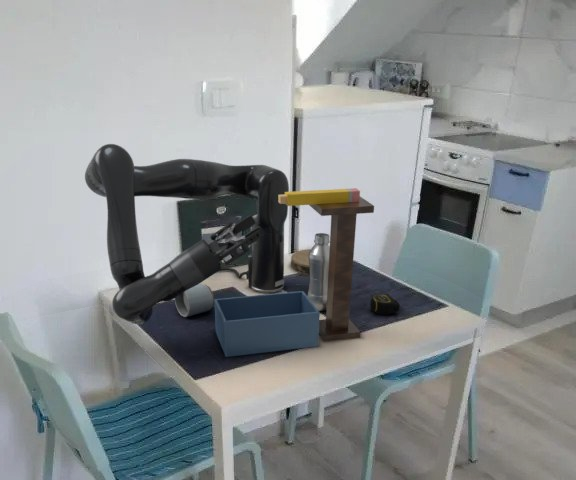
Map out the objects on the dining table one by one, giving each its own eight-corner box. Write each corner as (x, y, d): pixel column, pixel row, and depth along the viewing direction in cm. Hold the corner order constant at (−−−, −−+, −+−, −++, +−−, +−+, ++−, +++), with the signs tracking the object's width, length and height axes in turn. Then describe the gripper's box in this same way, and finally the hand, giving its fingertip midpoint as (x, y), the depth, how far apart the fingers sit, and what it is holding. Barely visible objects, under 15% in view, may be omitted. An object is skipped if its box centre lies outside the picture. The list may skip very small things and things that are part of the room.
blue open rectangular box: (225, 357, 141) (224, 322, 136) (215, 332, 151) (214, 299, 147) (318, 346, 146) (319, 312, 141) (302, 323, 157) (303, 290, 152)
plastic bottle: (324, 315, 161) (327, 240, 151) (301, 309, 164) (304, 236, 154) (335, 307, 166) (340, 234, 155) (313, 301, 169) (316, 229, 158)
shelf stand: (315, 343, 147) (321, 208, 131) (303, 326, 155) (307, 197, 139) (362, 338, 150) (374, 205, 134) (348, 321, 158) (357, 194, 142)
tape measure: (400, 315, 162) (401, 301, 160) (376, 317, 160) (377, 304, 158) (388, 305, 168) (390, 292, 166) (365, 307, 166) (366, 294, 164)
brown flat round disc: (348, 262, 196) (348, 253, 195) (333, 278, 184) (333, 269, 182) (301, 255, 201) (301, 246, 200) (283, 271, 188) (283, 261, 187)
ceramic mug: (216, 313, 161) (215, 285, 157) (190, 321, 156) (187, 292, 153) (195, 301, 168) (193, 274, 164) (168, 308, 163) (166, 281, 160)
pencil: (280, 206, 132) (280, 195, 131) (277, 203, 134) (277, 192, 133) (359, 201, 136) (360, 190, 135) (355, 199, 138) (356, 188, 137)
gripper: (190, 262, 127) (256, 218, 126) (181, 241, 138) (242, 201, 138) (210, 290, 131) (274, 248, 130) (200, 267, 143) (258, 228, 142)
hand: (257, 224), depth 134 cm, fingers open, 8 cm apart
